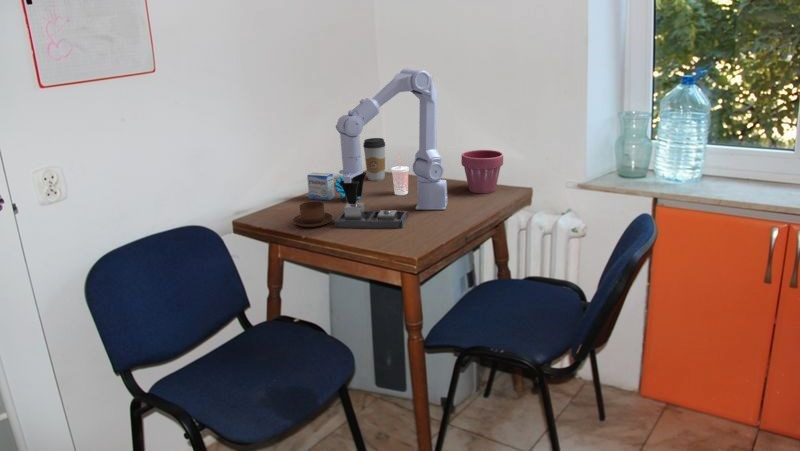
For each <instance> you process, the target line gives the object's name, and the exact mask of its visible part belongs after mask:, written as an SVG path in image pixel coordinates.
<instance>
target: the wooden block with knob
mask: <svg viewBox="0 0 800 451" xmlns="http://www.w3.org/2000/svg"><path fill="white" fill-rule="evenodd" d="M379 211H380V212H379V214H378V218H377V221H398V218H397V211H398V210H391V209H389V210H388V209H386V210H382V209H381V210H379Z"/></svg>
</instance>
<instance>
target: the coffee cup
mask: <svg viewBox="0 0 800 451" xmlns="http://www.w3.org/2000/svg"><path fill="white" fill-rule="evenodd" d="M363 141H364V142H363V146H362V147H363V151H364V161H365V168H366V175H367V179H368V181H372V182H376V181H377V182H379V181H383V180H385V176H386V155H385V154H386V142H385V139H384V138H383V137H382V138H381V137H371V138H366V139H364V140H363Z"/></svg>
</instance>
